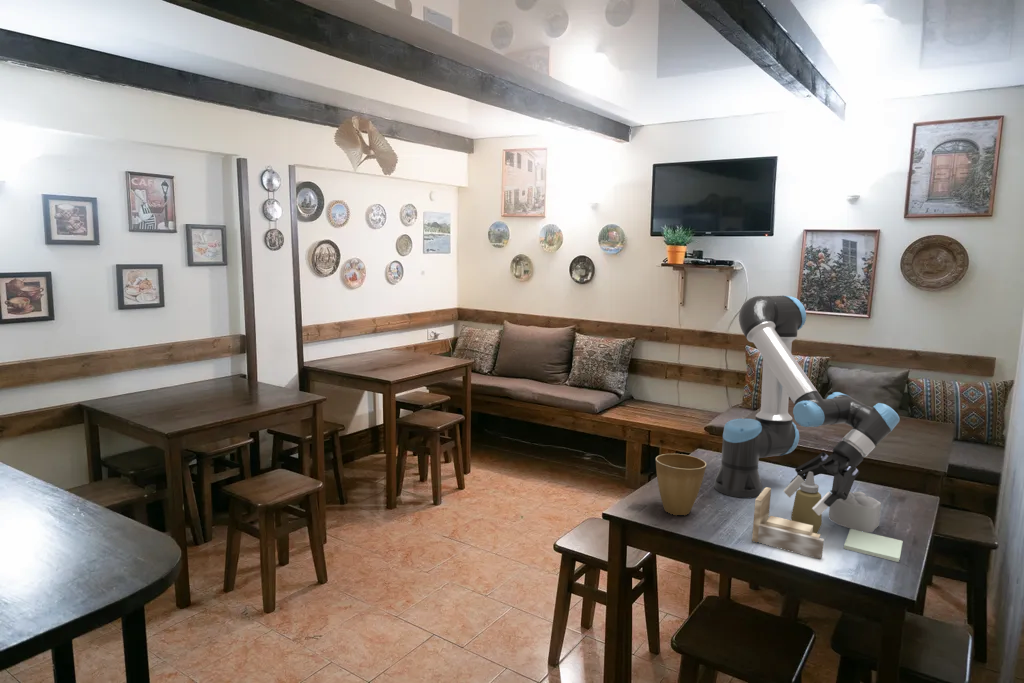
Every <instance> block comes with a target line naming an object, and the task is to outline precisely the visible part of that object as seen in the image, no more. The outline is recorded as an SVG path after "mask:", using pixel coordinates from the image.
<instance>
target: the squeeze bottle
mask: <svg viewBox="0 0 1024 683" xmlns="http://www.w3.org/2000/svg"><path fill="white" fill-rule="evenodd" d="M821 499H822V494H821V493H820V492H819V485H818V484H817V483H815V476H813V472H808V475H807V478H806V479H805V482H802V483H801V485H800V488H799V489H798V490H797V491H796V492H795V496H794V501H793V506H792V510H791V514H790V515H791V516H790V520H792V521H796V522H800V523H804V524H809V525H813V532H812V533H816V534H819V533H818V532H819V531H820V528H821V527H822V524H823V515H822V514H823V513H822V514H821V515H820V516H819V515H817V514H816V512H815V511H814V510H813V509H812V508H813V507H814V506H815V505H816V504H817V503H818V502H819V501H820V500H821Z"/></svg>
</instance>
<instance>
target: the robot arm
mask: <svg viewBox="0 0 1024 683" xmlns="http://www.w3.org/2000/svg"><path fill="white" fill-rule="evenodd" d="M738 314H739V315H738V322H739V326H740V330H741V331H742V333H743V335H744V337H745V338H746V339H747V341H748V342H749V343H753V344H754V346H755V348H756V349H757V351H758V352H759V353H760V355H761V356H762V360H763V361H762V376H761V377H762V378H761V382H762V383H761V399H760V400H761V401H760V402H761V403H760V411H758V412H757V413H756V414H755V418H754V419H753V418H747V417H746V418H734V419H731V420H729V421H727V422H726V423H724V424H725V425H724V427H723V433H722V444H721V445H722V447H721V448H722V449H721V461H720V462H721V463H720V467H719V469H718V471H717V474H716V476H715V478H714V482H713V483H714V484H713V485H714V486H713V487H714V489H715V491H718V492H719V493H721V494H723V495H727V496H730V497H735V498H741V497H746V498H747V499H748V498H749V499H751V498H750V497H752V498H757V497H758V496H759V495H760V493H761V492H762V491H763V483H762V481H761V476H760V473H759V462H760V460H759V459H762V458H768V457H779V456H780V457H781V456H784V455H788V454H791V453H792V452H793V451H795V449H796V448H797V447H798V444H799V441H800V431H799V429H798V428H797V425H796V424H798V425H799V426H801V427H803V428H804V427H805V428H818V427H821V426H828V425H829V426H831V425H839V424H845V425H847V426H849V427H851V430H850V431H849V432H847V433H846V434H845V435H844V437H842V440H840V441H839V442H838V443H837V444H836V445H835V446H834V447H833V448H832V452H831V454H830V455H828V454H827V453H826V452H825V451H821V452H820V453H819V454H817V456H816V457H814V458H812V459H810V460H808V461H806V462H805V463H802V464H801V465H799V466H797V467H796V468H795V469H794V471H795V472H796V474H797V475H795V477H794V478H793V479H792V480H791V481H790V482H789V484H788V485H787V486H786V487H784V489H783V490H782V491H783V492H784V494H785V495H786V496H787V497H788V498H791V497H792V496H793V495H794V494H796V491H797V490H799V489H800V485H801V483H802V482H805V481H806V478H807V475H808V472H813V476H814V477H815V476H818V475H821V474H831V475H833V479H832V480H833V481H832V486H831V487H832V488H831V489H830V490H829V491H827V492H826V494H825V495H823V497H821V500H820V501H819V502H818V503H817V504H816V505H815V506H814V507H813V508H812V509H813V510H814V511H815V512H816V514H817V515H819V516H820V515H821V514H823V513H824V512H825V510H826V509H828V508H829V507H830V506H831V505H832V504H833V503H834V502H835V501H836V500H837V499H843V500H846V499H847V497H848V494H849V492H851V489H852V487H853V484H854V482H855V479H856V478H857V477H858V475H860V471H859V469H858V468H857V467H858V466H859V465H860V464H861V463H862V462H863V461H864V458H866V457H868V455H869V454H870V453H871V452H872V451H873V450H874V449H875V448H876V447H877V446H878V445H879V443H881V441H882V440H884V438H886V437H887V436H888V435H889V434H890V433H892V431H893V430H894V429H895V427H896V426H897V425H898V424H899V423H900V420H901V419H900V416H899V414H898V413H897V412H896V410H894V409H893V408H892V407H891V406H889V405H888V404H885V403H881V402H877V403H876V404H875V405H873V407H872V406H869V405H866V404H865V403H863V402H861V401H859V400H857V399H855V398H853V397H851V396H850V395H848V394H845V393H842V392H840V391H835V392H832V394H829V395H828V396H827V397H826V398H823V397H822V395H821V394H820V392H819V391H818V390H817V389H816V387H815V386H814V384H813V383H812V381H811V380H810V378H809V377H808V376H807V374H806V373H805V371H804V370H803V368H802V367H801V365H800V364H799V363H798V360H797V359H796V358H795V356H794V355H793V354H792V346H793V345H792V343H793V342H794V341H795V340H796V339H797V338H798V331H799V330H800V329H802V328H803V326H804V325H805V324H806V320H807V312H806V308H805V306H804V304H803V302H801V301H800V300H799V299H798V298H796V297H794V296H791V295H756V296H753V297H750V298H749V299H747V300H746V301H745V302H744V303H743V304H742V305H741V307H740V309H739V313H738ZM789 399H790V400H791V401H792V403H793V405H794V407H793V410H792V414H793V417H792V415H790V413H789ZM793 418H794V420H795V422H796V423H794V421H793ZM843 492H844V493H843ZM746 498H745V499H746Z"/></svg>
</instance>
